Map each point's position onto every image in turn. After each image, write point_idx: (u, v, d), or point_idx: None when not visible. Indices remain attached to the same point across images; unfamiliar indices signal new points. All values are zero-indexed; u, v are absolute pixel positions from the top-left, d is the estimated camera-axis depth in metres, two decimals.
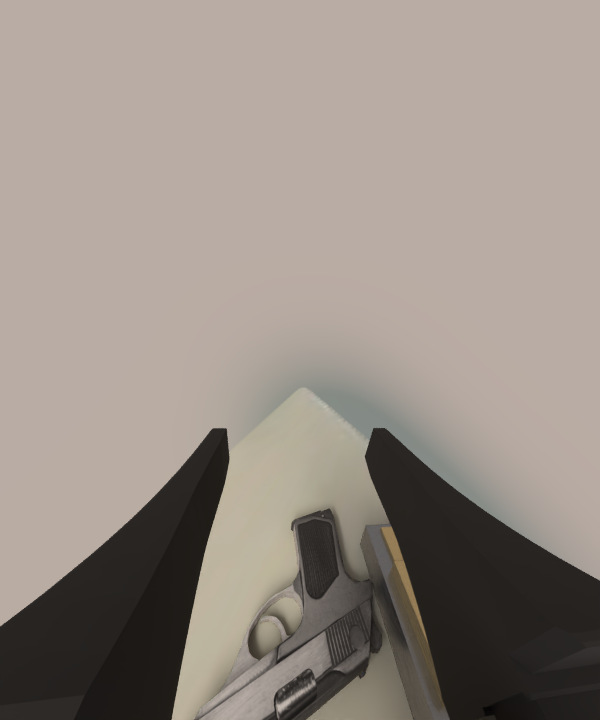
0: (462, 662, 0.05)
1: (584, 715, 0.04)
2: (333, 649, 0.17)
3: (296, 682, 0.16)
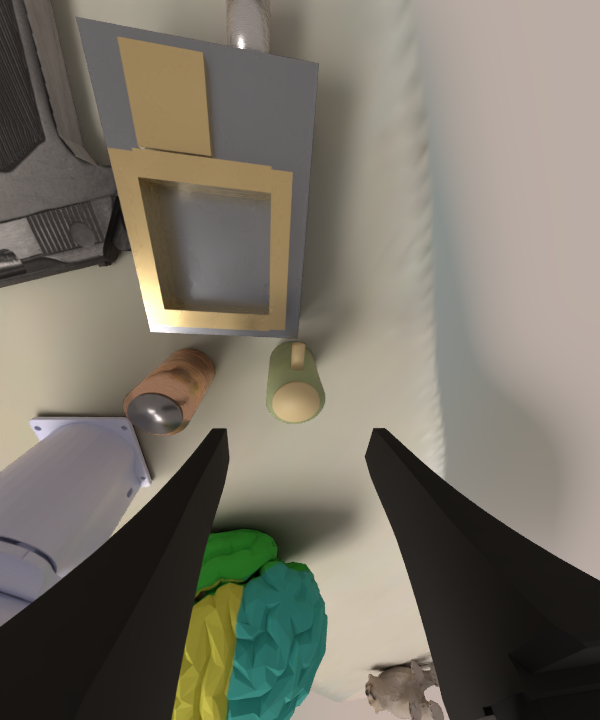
0: (462, 662, 0.05)
1: (584, 715, 0.04)
2: (43, 239, 0.12)
3: None
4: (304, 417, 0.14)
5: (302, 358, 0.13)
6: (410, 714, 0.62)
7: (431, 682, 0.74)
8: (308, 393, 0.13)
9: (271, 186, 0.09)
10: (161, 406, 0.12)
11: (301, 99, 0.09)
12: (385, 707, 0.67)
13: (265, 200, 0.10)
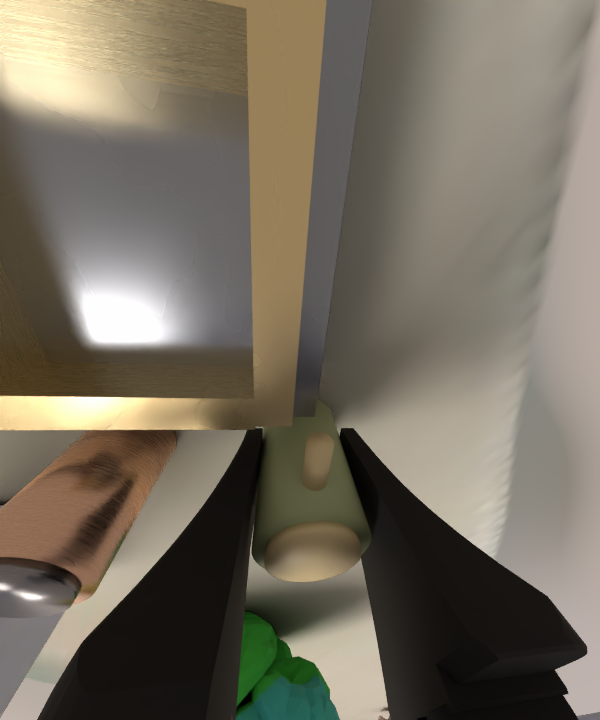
0: (403, 670, 0.05)
1: None
2: None
3: None
4: (328, 574, 0.07)
5: (327, 469, 0.06)
6: None
7: None
8: (340, 544, 0.06)
9: None
10: (18, 584, 0.06)
11: None
12: None
13: (238, 93, 0.04)
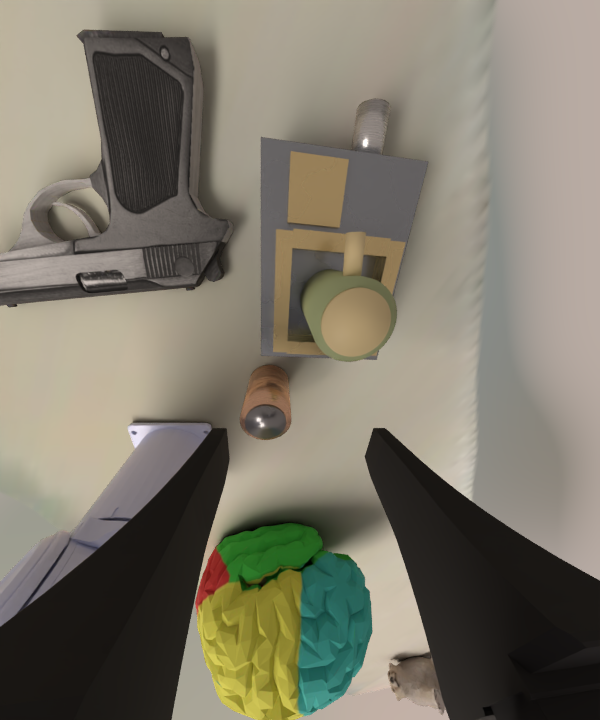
0: (462, 662, 0.05)
1: (584, 715, 0.04)
2: (151, 266, 0.14)
3: (104, 273, 0.14)
4: (366, 347, 0.10)
5: (362, 254, 0.09)
6: (435, 700, 0.64)
7: None
8: (375, 305, 0.09)
9: (386, 251, 0.12)
10: (272, 415, 0.15)
11: (411, 185, 0.12)
12: (407, 694, 0.69)
13: (371, 256, 0.13)
